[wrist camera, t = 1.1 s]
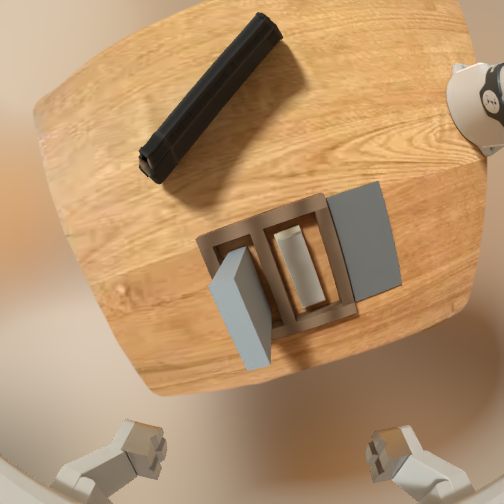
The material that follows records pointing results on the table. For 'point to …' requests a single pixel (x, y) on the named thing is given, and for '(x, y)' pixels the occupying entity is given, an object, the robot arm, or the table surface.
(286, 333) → the rack
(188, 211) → the table surface
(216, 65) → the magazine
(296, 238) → the offcut upper
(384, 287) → the mat
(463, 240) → the table surface
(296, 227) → the offcut lower
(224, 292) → the sheet
